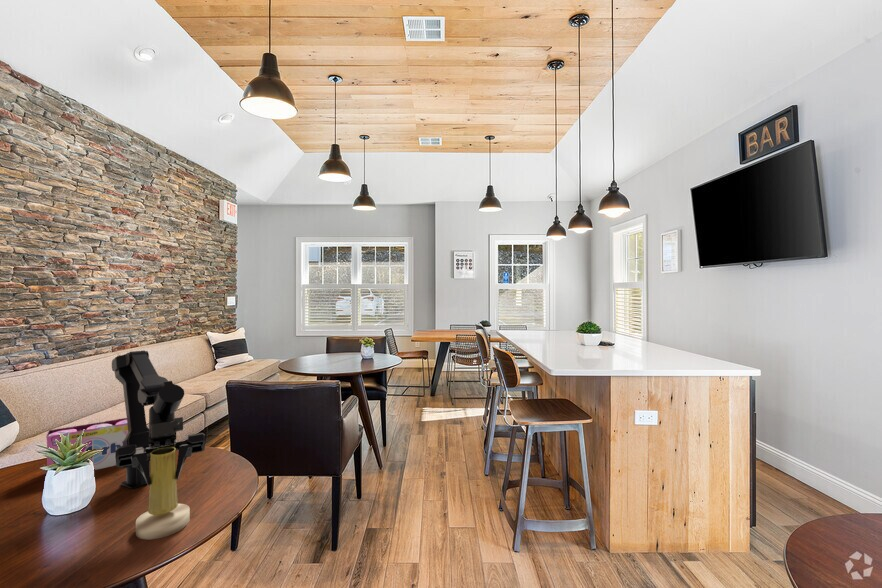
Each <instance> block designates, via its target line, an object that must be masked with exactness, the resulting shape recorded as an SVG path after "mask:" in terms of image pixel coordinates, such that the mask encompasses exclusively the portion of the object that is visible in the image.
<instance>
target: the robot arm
mask: <svg viewBox="0 0 882 588" xmlns="http://www.w3.org/2000/svg"><path fill="white" fill-rule="evenodd" d="M151 361H152V360H151V359H150V354H149V351H148V350H135V351H132V350H131V351H129V352H127V353H125V354H121V355H117V356H115V357H114V358H113V359H112V361H111V369H112V371H113V372H114V377H115V379H116V380H117V381H118V382H119V383H120V384H121V385H122V388H123V396H124V407H125V413H126V418H127V424H128V434H127V436H126V438H125V439H124V441H123V446H120V447H118V448H117V449H116V454H115V459H116V468H122V469H126V471H125V472H126V473H125V474H126V475H125V476H126V477H125V479H126V480H125V481H122V482H120V486H122V487H126V488H129V489H130V490H132V489H136V488H138V487H141V486H144V485H146V484H147V487H150V453H151V452H152V451H153V450H156V449H159V448H163V447H174V448H176V451H178V455H177V460H176V481H177V480H179V478H180V474H181V473H182V468H183V466H184V464H185V462H186V460H187V458H190V457H192V455H193V454H197V453H202V452H204V451H205V448H206V442H207V441H206V440H207V439H206V438H207V437H206V434H205V433H204V432H200V433H199V432H198V433H194V434H192V433H191V434H188V435H187V439H186V440H182V441H176V440H177V432H182V431H183V430H184V417H182V416H181V417H176V415H175V414H176V413H175V412H176V411H178V409H179V406H180V405H181V403H182V401H183V398H184V396H185V389H184V388H182V386H180V385H178V384H175V383H173V380H169V379H167V377H164V376H160V375H159V374H158V372H157V371H156V368H155V367H154V364H153V363H152V362H151ZM149 406H150V407H149ZM145 407H149V409H148V426H147V418H146V412H145V411H146V410H145Z"/></svg>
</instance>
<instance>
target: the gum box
mask: <svg viewBox="0 0 882 588" xmlns="http://www.w3.org/2000/svg"><path fill="white" fill-rule="evenodd" d="M83 429H85V430H84V433H83V435H82V444H86V443H89V442H91V443H90V444H88V445H87V446H85V447H84V448H83V449H82V450H81V451H82V452H85V451H88V450H92V449H104V450H103V451H102V452H100V453H97V454H95V455H94V456H93V457H91V458H90V460H91V461H92V462H93V464H94V467H95V470H94V471H97V470H101V469H106V468H110V467H114V466H116V459H115V454H116V449H117V448H118V447H120V446H123V441H124V439H125V438H126V436H127V434H128V424H127V417H124V418H123V417H122V418H117V419H112V420H105V421H99V422H93V423H87V424H80V425H75V426H67V427H61V428H55V429H49V430H48V432H47V433H46V436H45V437H46V449H47V448H49V447H50V448H53V449H55V450H56V451H57V450H58V446H57V444H56V441H55V439H57V440H58V441H59V442H61V437H60V435H59V434H60V433H61V434H63V435H64V436H67V435H68V433H70V442H71V444H74V443H75V442H76V440H77V438H78V437H79V436H80V435H81V433H82V431H83ZM53 463H54V462H53V461H52V460H51V459H50V458H48V457H47V456H46V467H47V466H49V465H51V464H53Z"/></svg>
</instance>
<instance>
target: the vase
mask: <svg viewBox="0 0 882 588" xmlns="http://www.w3.org/2000/svg"><path fill="white" fill-rule="evenodd" d="M176 451H177V450H176V448H174V447H163V448H159V449H156V450H153V451H152V452H151V453H150V486H149V491H148V510H147V511H148V513H149V514H152V515H160V514H165V513H168V512H170V511H172V510H174V509H175V508H176V507H177V506H178V504H179V502H178V487H177V486H178V485H177V480H176V469H177V453H176Z"/></svg>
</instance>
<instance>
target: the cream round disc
mask: <svg viewBox="0 0 882 588" xmlns="http://www.w3.org/2000/svg"><path fill="white" fill-rule="evenodd" d="M190 510H191V508H190V506H189V505H187V504H186V503H178V506H177V507H176V508H175V509H174V510H172V511H170V512H168V513H165V514H160V515H152V514H149V513H148V510H147V511H146V512H144V513H141V514H140V515H139V516H138V517H137V518H136V520H135V536H136V537H137V538H138V539H141V540H156V539H162V538H166V537H168V536H171V535H173V534H176V533H177V532H179V531H181V530H184V528H186V527H187V526H188V525H189V523H190V521H191V520H190V519H191V518H190V517H191V515H190V514H191V513H190V512H191V511H190Z"/></svg>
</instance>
